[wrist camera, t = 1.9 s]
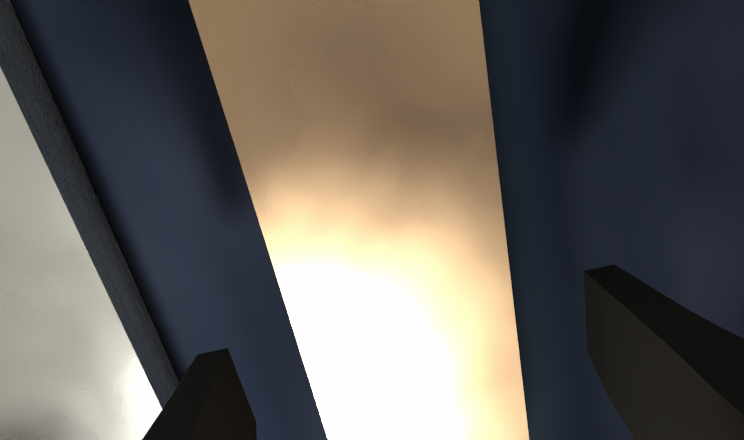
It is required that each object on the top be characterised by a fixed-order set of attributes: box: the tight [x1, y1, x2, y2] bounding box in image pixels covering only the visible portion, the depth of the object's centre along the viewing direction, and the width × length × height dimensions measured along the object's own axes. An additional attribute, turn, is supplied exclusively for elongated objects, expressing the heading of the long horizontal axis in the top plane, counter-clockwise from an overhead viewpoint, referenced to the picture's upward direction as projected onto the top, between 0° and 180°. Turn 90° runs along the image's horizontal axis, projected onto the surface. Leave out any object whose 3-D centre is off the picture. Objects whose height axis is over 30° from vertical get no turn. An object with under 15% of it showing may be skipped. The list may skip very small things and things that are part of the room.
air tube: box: [189, 0, 529, 440], centre depth 15 cm, size 18×4×4 cm, turn 11°
